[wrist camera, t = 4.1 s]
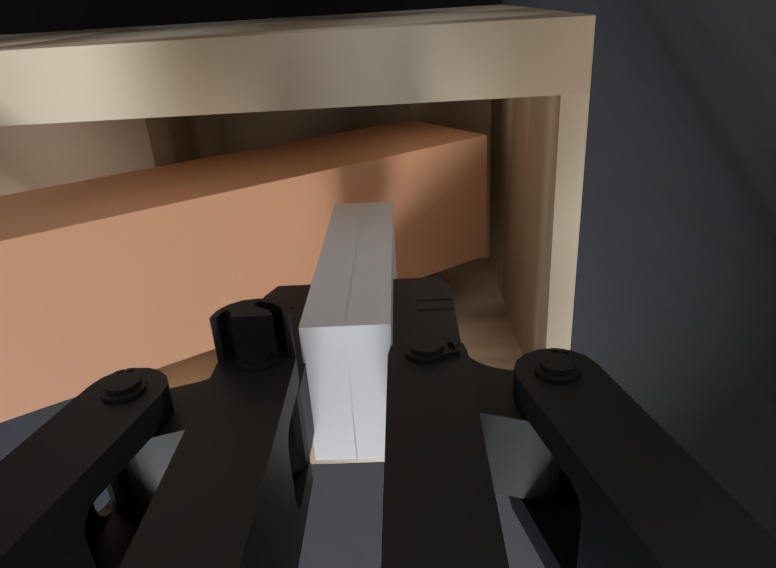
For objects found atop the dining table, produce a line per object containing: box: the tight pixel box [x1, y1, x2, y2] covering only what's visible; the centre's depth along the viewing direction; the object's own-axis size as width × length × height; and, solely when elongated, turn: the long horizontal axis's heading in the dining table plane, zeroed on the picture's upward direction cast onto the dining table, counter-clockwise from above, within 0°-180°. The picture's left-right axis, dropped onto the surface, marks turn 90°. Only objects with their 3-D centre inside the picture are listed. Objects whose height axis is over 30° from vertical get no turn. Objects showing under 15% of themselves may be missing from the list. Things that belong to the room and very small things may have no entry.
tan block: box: [0, 120, 487, 423], centre depth 17 cm, size 20×4×4 cm
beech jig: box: [0, 4, 596, 464], centre depth 21 cm, size 24×11×12 cm, turn 93°
